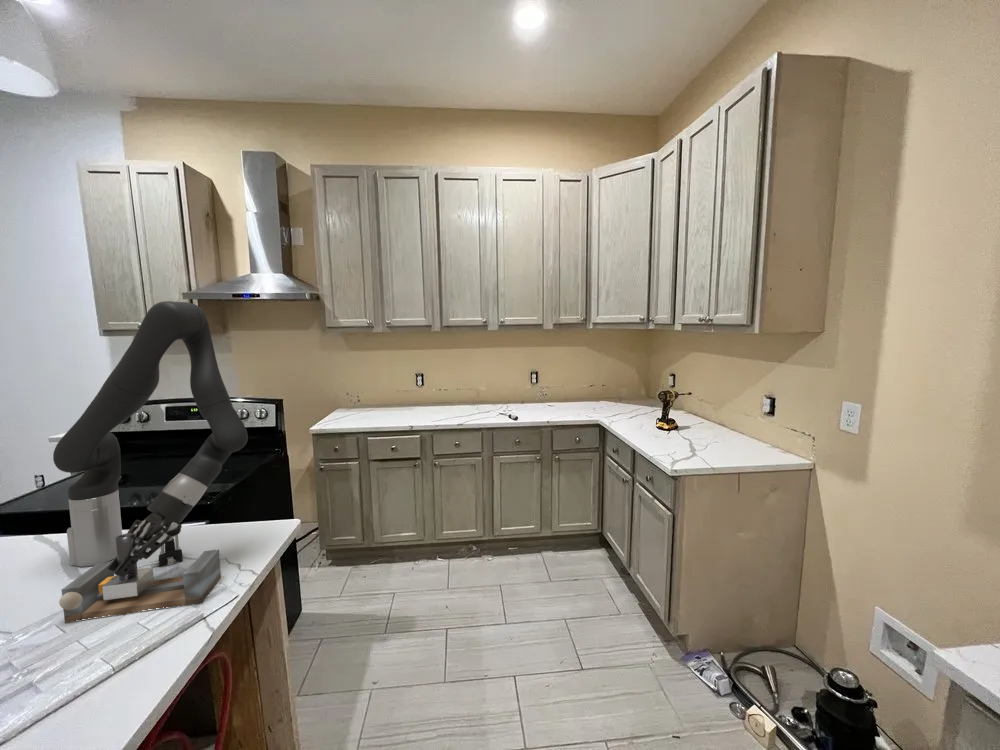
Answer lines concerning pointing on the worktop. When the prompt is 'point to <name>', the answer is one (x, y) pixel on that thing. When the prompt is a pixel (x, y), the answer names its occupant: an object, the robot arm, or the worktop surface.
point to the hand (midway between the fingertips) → (115, 572)
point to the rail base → (186, 590)
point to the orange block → (104, 584)
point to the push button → (170, 548)
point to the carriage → (134, 578)
